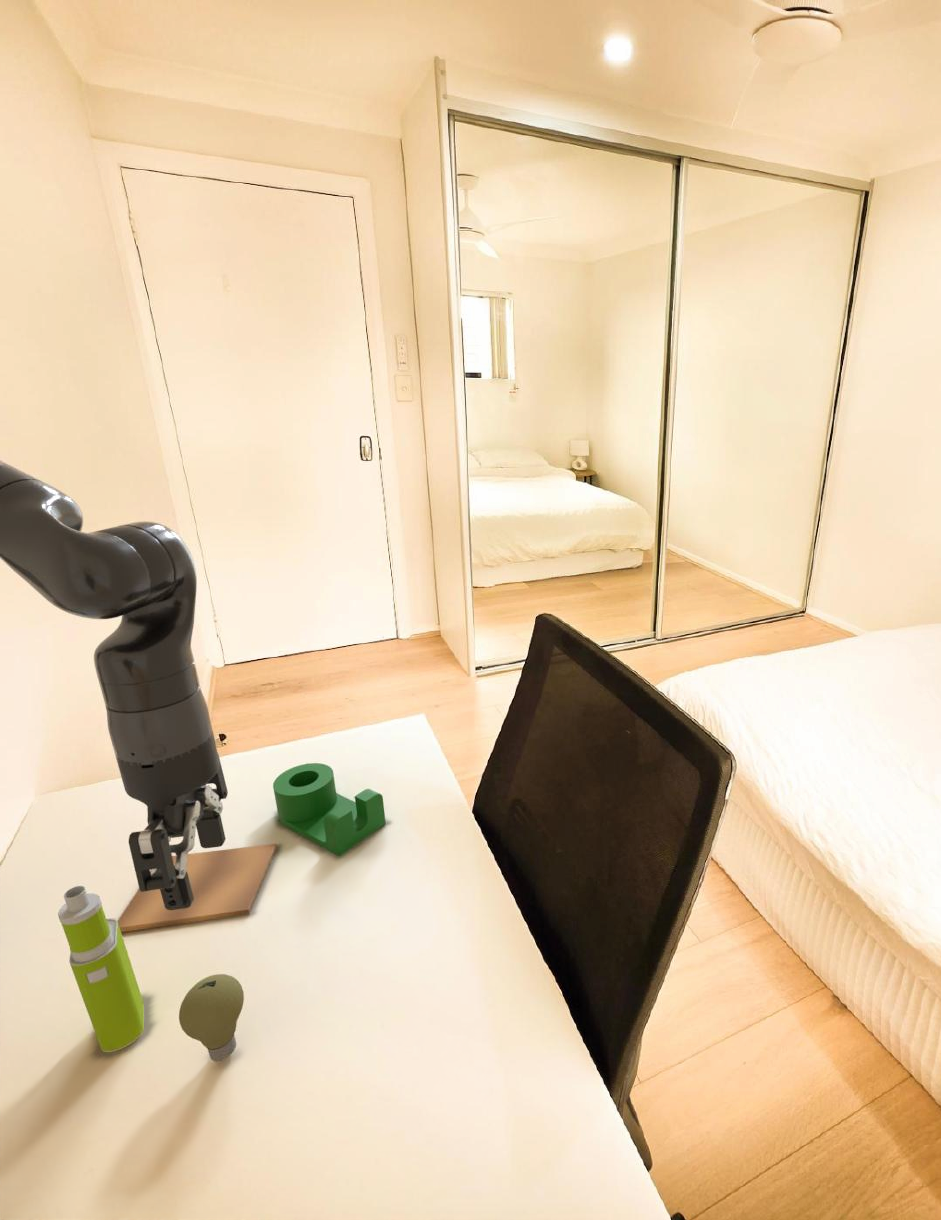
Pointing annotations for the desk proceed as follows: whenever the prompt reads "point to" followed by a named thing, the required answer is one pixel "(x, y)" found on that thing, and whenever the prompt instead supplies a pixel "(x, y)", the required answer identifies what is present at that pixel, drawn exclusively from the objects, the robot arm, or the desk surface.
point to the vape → (102, 970)
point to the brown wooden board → (206, 889)
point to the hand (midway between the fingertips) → (198, 874)
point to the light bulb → (213, 1014)
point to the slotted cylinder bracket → (325, 808)
